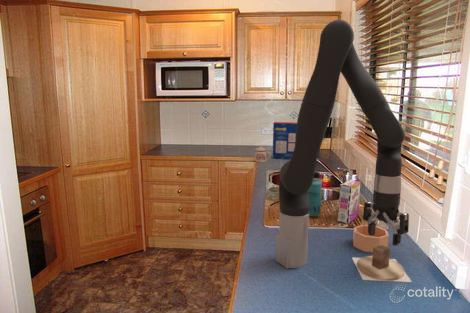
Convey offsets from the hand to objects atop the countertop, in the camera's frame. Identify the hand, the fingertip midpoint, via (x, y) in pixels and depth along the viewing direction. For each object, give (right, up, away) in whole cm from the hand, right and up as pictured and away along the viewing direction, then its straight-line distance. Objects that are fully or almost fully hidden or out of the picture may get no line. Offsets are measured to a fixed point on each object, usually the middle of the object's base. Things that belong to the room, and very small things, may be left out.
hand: (383, 239), depth 111 cm
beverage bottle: (-11, -1, +48) cm, 49 cm away
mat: (0, -10, +2) cm, 10 cm away
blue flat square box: (-2, +24, +174) cm, 175 cm away
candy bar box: (+3, -2, +45) cm, 45 cm away
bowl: (+3, -7, +18) cm, 20 cm away
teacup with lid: (-25, +22, +162) cm, 166 cm away
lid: (0, -9, +2) cm, 10 cm away
